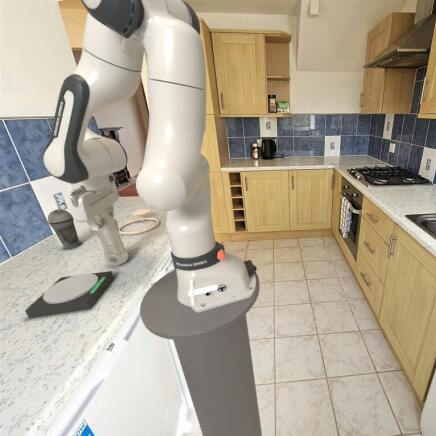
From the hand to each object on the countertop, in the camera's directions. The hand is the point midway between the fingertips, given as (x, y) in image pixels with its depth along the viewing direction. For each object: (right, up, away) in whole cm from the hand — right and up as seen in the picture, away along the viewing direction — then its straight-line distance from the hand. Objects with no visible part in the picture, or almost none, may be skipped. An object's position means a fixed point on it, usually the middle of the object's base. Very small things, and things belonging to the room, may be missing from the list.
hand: (104, 223), depth 79 cm
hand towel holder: (-10, -2, +35) cm, 36 cm away
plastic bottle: (+1, -14, +6) cm, 15 cm away
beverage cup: (-27, -10, +18) cm, 33 cm away
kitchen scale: (-1, -21, -9) cm, 23 cm away
